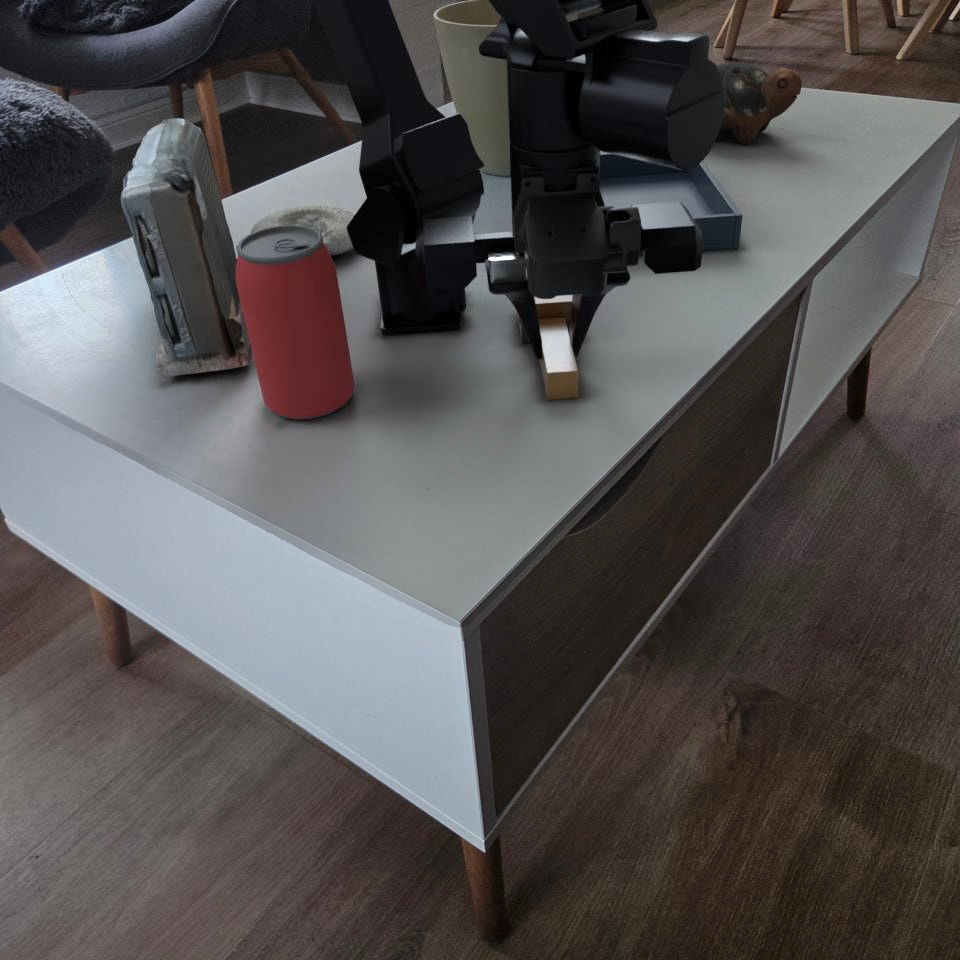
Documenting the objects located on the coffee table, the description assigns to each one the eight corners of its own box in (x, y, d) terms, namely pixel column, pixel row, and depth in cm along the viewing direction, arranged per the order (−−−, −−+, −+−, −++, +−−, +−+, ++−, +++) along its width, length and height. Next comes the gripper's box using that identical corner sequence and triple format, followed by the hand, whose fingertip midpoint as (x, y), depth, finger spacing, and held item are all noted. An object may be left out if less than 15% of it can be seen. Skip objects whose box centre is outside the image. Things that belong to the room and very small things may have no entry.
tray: (592, 259, 83) (593, 225, 81) (566, 184, 98) (566, 155, 97) (738, 248, 83) (742, 215, 81) (690, 175, 99) (692, 146, 97)
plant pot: (540, 196, 96) (537, 29, 87) (420, 178, 102) (405, 21, 93) (599, 152, 106) (602, -2, 97) (486, 138, 113) (479, -8, 103)
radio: (186, 260, 88) (143, 97, 79) (277, 252, 88) (244, 88, 79) (134, 388, 70) (70, 193, 60) (249, 377, 70) (202, 182, 61)
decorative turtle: (788, 153, 102) (793, 78, 97) (656, 149, 109) (654, 78, 104) (808, 123, 108) (814, 51, 103) (683, 121, 115) (682, 53, 110)
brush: (596, 396, 65) (597, 354, 63) (528, 401, 65) (527, 359, 63) (573, 312, 75) (573, 273, 73) (514, 316, 75) (513, 277, 73)
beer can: (339, 427, 64) (310, 264, 56) (250, 420, 65) (210, 260, 58) (367, 377, 69) (343, 222, 62) (284, 372, 70) (251, 220, 63)
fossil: (278, 240, 80) (220, 226, 87) (290, 281, 82) (232, 264, 89) (378, 200, 86) (316, 190, 93) (386, 239, 88) (325, 226, 95)
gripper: (403, 194, 52) (428, 426, 61) (737, 170, 52) (710, 406, 61) (406, 133, 60) (428, 344, 70) (691, 113, 60) (674, 326, 70)
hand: (556, 355), depth 67 cm, fingers closed on brush, 2 cm apart
